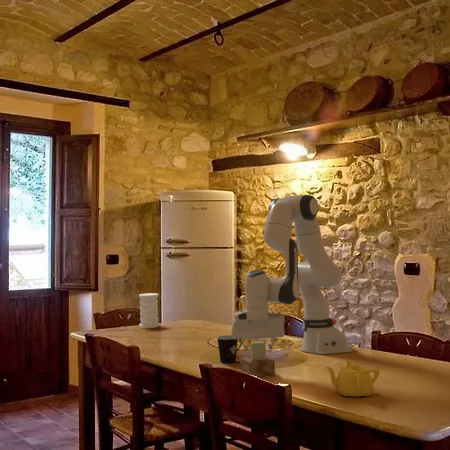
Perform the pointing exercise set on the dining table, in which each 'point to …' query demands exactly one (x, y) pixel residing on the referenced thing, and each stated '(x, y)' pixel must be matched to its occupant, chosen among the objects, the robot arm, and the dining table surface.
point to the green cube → (258, 351)
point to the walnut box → (258, 366)
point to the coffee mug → (227, 348)
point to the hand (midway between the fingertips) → (258, 349)
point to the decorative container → (149, 310)
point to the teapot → (354, 380)
